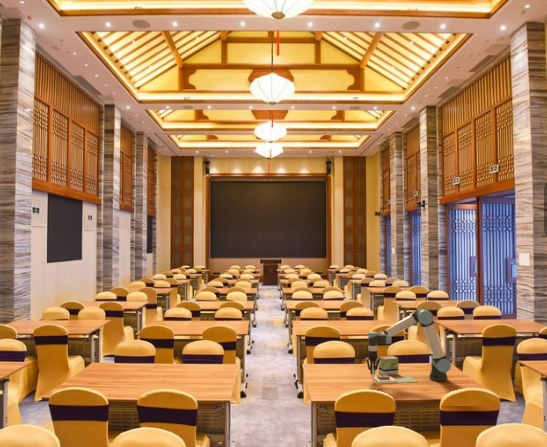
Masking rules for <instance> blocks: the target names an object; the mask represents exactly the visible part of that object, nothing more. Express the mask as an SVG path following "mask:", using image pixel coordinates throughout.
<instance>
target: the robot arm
mask: <svg viewBox="0 0 547 447" xmlns="http://www.w3.org/2000/svg"><path fill="white" fill-rule="evenodd" d="M418 323H419V326H420V327H421V328H422V329H423V331H424V334H425V336H426V338H427V342H428V344H429V347H430V350H431V356H430V357H431V358H430V360H431V361H430V362H431V364H430V366H431V370H430V372H429V380H431V381H435V382H442V383H443V382H447V381H448V374H447V372H449V371H450V370H451V367H452V364H451V361H450V360H449V358H448V356H447V355H448V354H447V353H445V352H444V350H443V348H442V344H441V343H440V340H439V337H438V334H437V332H436V328H435V326H434V325H435V320H434V315H433V313H432V312H431V311H430V310H428V309H427V308H424V307H423V308H422V307H421V308H418V309H416V310H414V311H413V312H411V313H410V314H409V316H406V317H404V319H403V318H402V320H400V321H398V322H396V323H395V324H393V325H391V326H390V327H388V328H386V329H384V330H383V331H382V330H381V331H379V332H376V331H369V332H368V334H367V338H368V340H367V341H368V343H367V346H368V351H367V352H368V354H367V355H368V356H367V357H366V358H364V359H365V361H366V365H367V369H368V370H369V372H370V376H371V379H373V378H374V377H375V375H376V371H377V370H379V361H380V358H379V356H378V344H382V345H386V344H387V345H390V344H392V341H393V340H392V337H393V336H395V335H397V334H399V333H400V332H401V331H404V330H406V329H407V328H409V327H411V326H412V325H414V324H418Z"/></svg>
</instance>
